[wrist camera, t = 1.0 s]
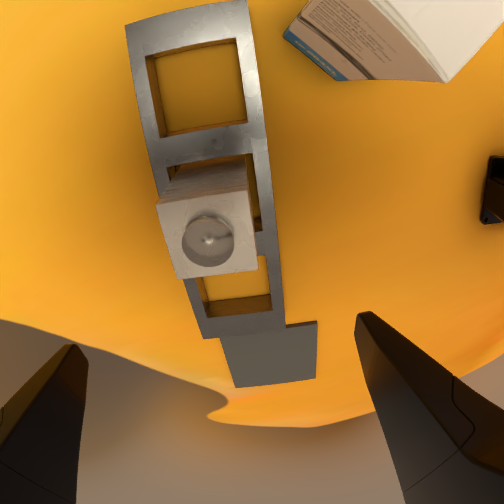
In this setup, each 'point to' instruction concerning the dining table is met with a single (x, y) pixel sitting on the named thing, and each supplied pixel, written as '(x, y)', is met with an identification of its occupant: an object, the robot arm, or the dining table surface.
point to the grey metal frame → (211, 147)
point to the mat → (272, 356)
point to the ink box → (394, 36)
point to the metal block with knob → (209, 218)
